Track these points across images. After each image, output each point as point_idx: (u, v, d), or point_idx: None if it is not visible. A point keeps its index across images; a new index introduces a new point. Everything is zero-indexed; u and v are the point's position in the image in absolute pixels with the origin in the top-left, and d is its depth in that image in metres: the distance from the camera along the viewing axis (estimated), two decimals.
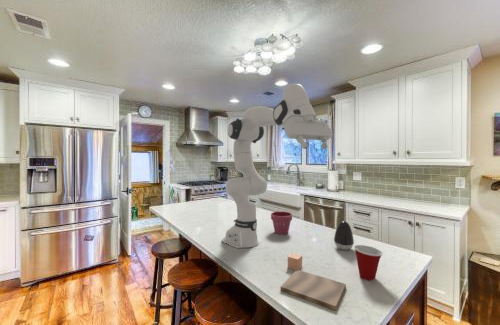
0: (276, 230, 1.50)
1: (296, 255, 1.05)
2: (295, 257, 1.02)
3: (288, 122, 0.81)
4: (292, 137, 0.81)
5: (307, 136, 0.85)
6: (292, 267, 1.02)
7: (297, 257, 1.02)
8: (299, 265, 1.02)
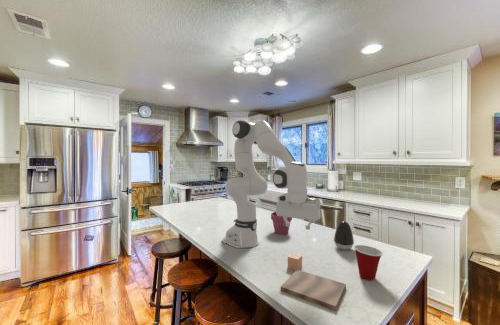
0: (276, 230, 1.50)
1: (296, 255, 1.05)
2: (295, 257, 1.02)
3: None
4: None
5: None
6: (292, 267, 1.02)
7: (297, 257, 1.02)
8: (299, 265, 1.02)
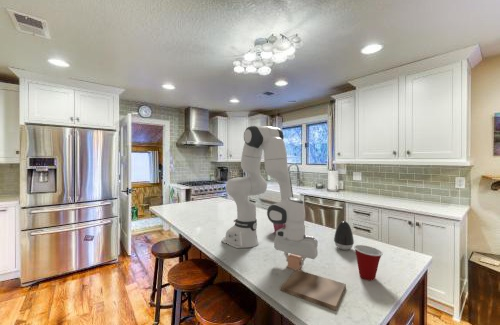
0: (276, 230, 1.50)
1: (296, 255, 1.05)
2: (295, 257, 1.02)
3: None
4: None
5: None
6: (292, 267, 1.02)
7: (297, 257, 1.02)
8: (299, 265, 1.02)
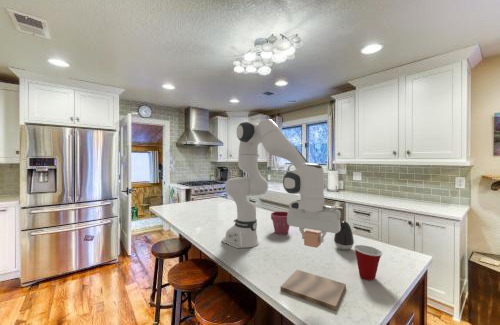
0: (276, 230, 1.50)
1: (314, 231, 0.88)
2: (313, 232, 0.86)
3: None
4: None
5: None
6: (310, 244, 0.85)
7: (315, 232, 0.86)
8: (318, 242, 0.85)
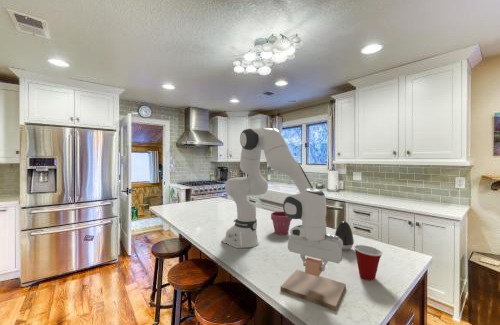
0: (276, 230, 1.50)
1: (315, 258, 0.86)
2: (314, 260, 0.84)
3: None
4: None
5: None
6: (311, 272, 0.84)
7: (317, 260, 0.84)
8: (319, 270, 0.84)
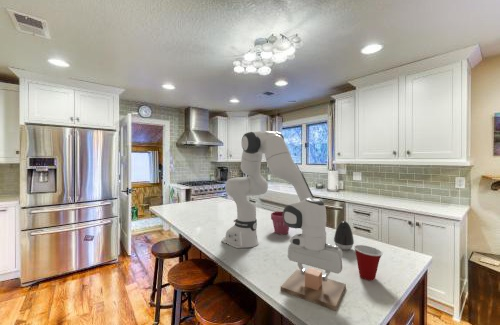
0: (276, 230, 1.50)
1: (315, 271, 0.87)
2: (314, 274, 0.84)
3: None
4: None
5: None
6: (310, 286, 0.84)
7: (316, 274, 0.84)
8: (319, 283, 0.84)
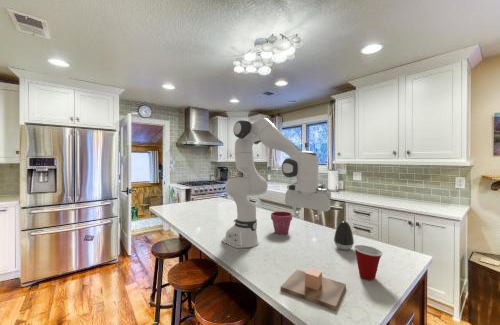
0: (276, 230, 1.50)
1: (315, 271, 0.87)
2: (314, 274, 0.84)
3: None
4: None
5: None
6: (310, 286, 0.84)
7: (316, 274, 0.84)
8: (319, 283, 0.84)
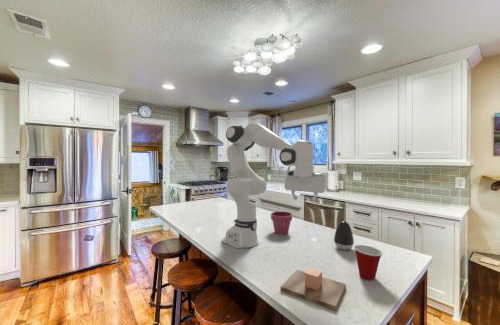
0: (276, 230, 1.50)
1: (315, 271, 0.87)
2: (314, 274, 0.84)
3: None
4: None
5: None
6: (310, 286, 0.84)
7: (316, 274, 0.84)
8: (319, 283, 0.84)
